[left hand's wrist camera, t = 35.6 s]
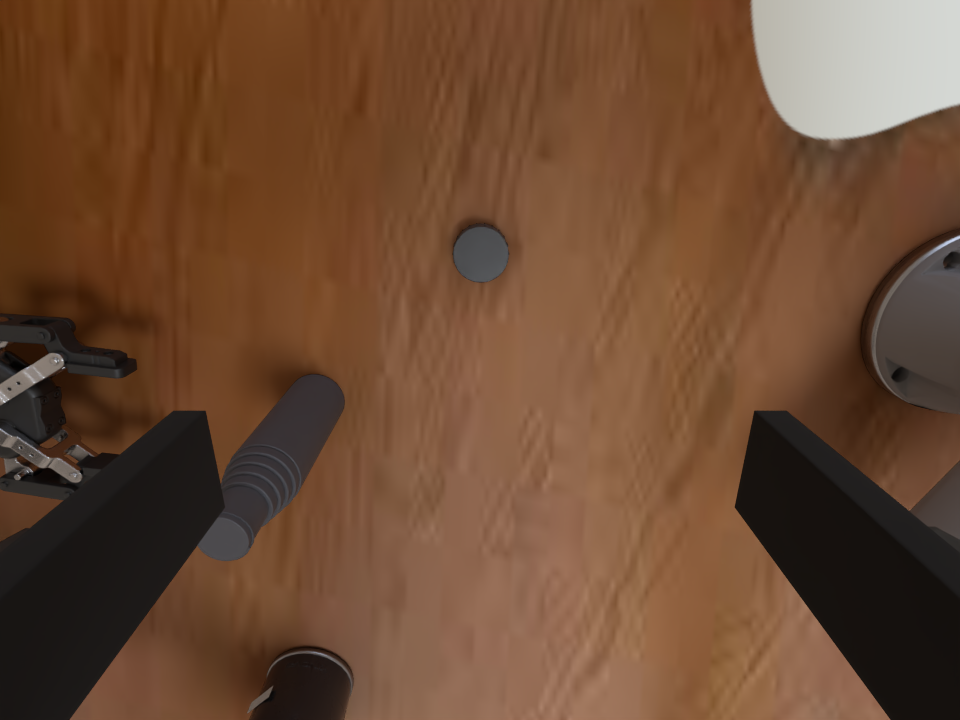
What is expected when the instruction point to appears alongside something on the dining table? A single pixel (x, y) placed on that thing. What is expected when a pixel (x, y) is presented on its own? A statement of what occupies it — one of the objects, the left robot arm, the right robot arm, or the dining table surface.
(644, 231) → the dining table surface
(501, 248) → the cap
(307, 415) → the bottle
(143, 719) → the dining table surface
